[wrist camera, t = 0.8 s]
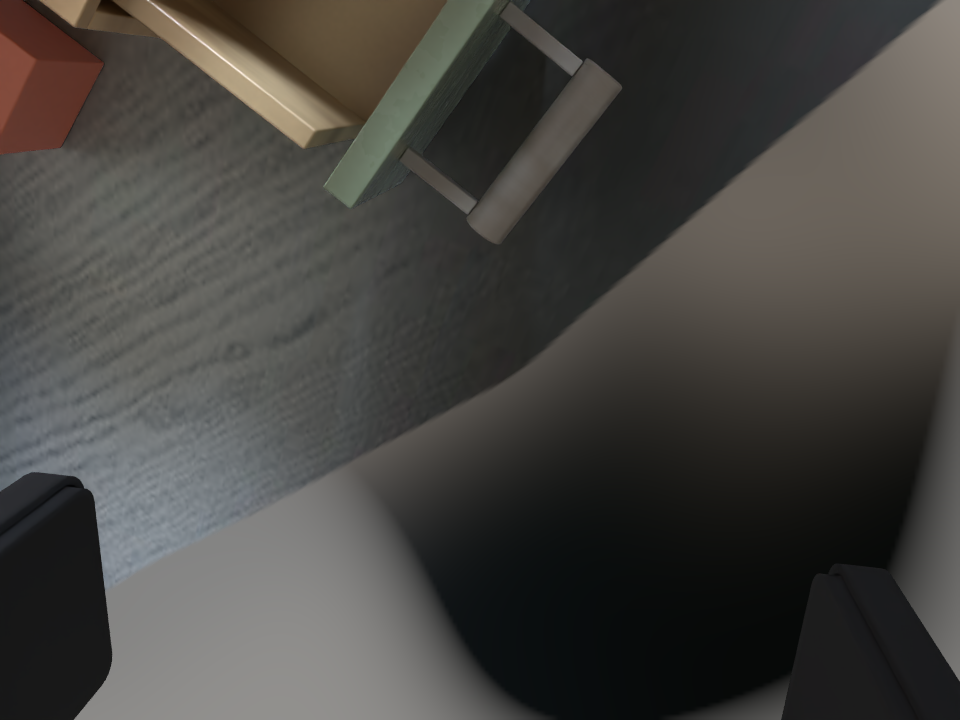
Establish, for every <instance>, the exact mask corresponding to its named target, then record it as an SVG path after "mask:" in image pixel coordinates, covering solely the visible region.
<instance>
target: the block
mask: <svg viewBox="0 0 960 720" xmlns="http://www.w3.org/2000/svg"><path fill="white" fill-rule="evenodd" d="M103 65H104V63H103V62H102V61H101V60H99V59H98V58H97V57H96V56H94V55H93V54H92V53H90V52H89V51H88V50H86V49H85V48H84V47H83V46H81V45H80V44H79V43H77V42H76V41H75V40H73V39H72V38H71V37H70V36H68V35H67V34H66V33H64V32H63V31H62V30H60V29H59V28H58V27H56V26H55V25H54V24H53V23H51V22H50V21H49V20H47V19H46V18H45V17H43V16H42V15H41V14H40V13H38V12H37V11H36V10H34V9H33V8H32V7H30V6H29V5H28V4H27V3H25V2H24V1H23V0H0V154H9V153H18V152H27V151H36V150H45V149H54V148H60V147H61V146H62V144H63V142H64V140H65V139H66V137H67V135H68V133H69V131H70V129H71V127H72V125H73V123H74V121H75V119H76V117H77V115H78V113H79V112H80V110H81V108H82V106H83V104H84V102H85V100H86V98H87V96H88V94H89V92H90V90H91V88H92V86H93V84H94V83H95V81H96V79H97V77H98V75H99V73H100V71H101V69H102V67H103Z"/></svg>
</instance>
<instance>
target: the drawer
mask: <svg viewBox="0 0 960 720" xmlns="http://www.w3.org/2000/svg"><path fill="white" fill-rule="evenodd" d="M112 1H113V2H115V3H116V4H117V5H119V6H120V7H121V8H122V9H124V10H125V11H126V12H128V13H129V14H130V15H131V16H133V17H134V18H135V19H137V20H138V21H139V22H140V23H142V24H143V25H144V26H146V27H147V28H148V29H149V30H151V31H152V32H153V33H155V34H156V35H157V36H158V37H160V38H161V39H162V40H164V41H165V42H166V43H167V44H169V45H170V46H171V47H173V48H174V49H175V50H176V51H178V52H179V53H180V54H182V55H183V56H184V57H185V58H187V59H188V60H189V61H191V62H192V63H193V64H194V65H196V66H197V67H198V68H200V69H201V70H202V71H203V72H205V73H206V74H207V75H209V76H210V77H211V78H212V79H214V80H215V81H216V82H218V83H219V84H220V85H221V86H223V87H224V88H225V89H227V90H228V91H229V92H230V93H232V94H233V95H234V96H236V97H237V98H238V99H239V100H241V101H242V102H243V103H245V104H246V105H247V106H248V107H250V108H251V109H252V110H254V111H255V112H256V113H257V114H259V115H260V116H261V117H263V118H264V119H265V120H266V121H268V122H269V123H270V124H272V125H273V126H274V127H275V128H277V129H278V130H279V131H281V132H282V133H283V134H284V135H286V136H287V137H288V138H290V139H291V140H292V141H293V142H295V143H296V144H297V145H299V146H300V147H301V148H302V149H308V148H313V147H318V146H322V145H327V144H332V143H337V142H341V141H346V140H351V139H355V140H354V141H353V143H352V144H351V146H350V147H349V149H348V150H347V152H346V153H345V155H344V156H343V158H342V159H341V161H340V162H339V164H338V165H337V167H336V168H335V170H334V171H333V173H332V174H331V176H330V177H329V179H328V180H327V182H326V183H325V185H324V187H323V188H324V189H325V190H326V191H328V192H329V193H330V194H331V195H333V196H334V197H335V198H337V199H338V200H339V201H340V202H342V203H343V204H344V205H346V206H347V207H348V208H349V209H352V208H354V207H356V206H358V205H360V204H362V203H364V202H366V201H368V200H370V199H372V198H374V197H376V196H378V195H380V194H382V193H384V192H386V191H388V190H390V189H391V188H393V187H395V186H397V185H399V184H401V183H402V182H403V180H404V179H405V177H406V176H407V175H408V173H409V172H410V170H411V171H413V172H414V173H415V174H416V175H418V176H419V177H420V178H421V179H423V180H424V181H425V182H426V183H428V184H429V185H430V186H432V187H433V188H434V189H435V190H437V191H438V192H439V193H440V194H442V195H443V196H444V197H446V198H447V199H448V200H449V201H451V202H452V203H453V204H454V205H456V206H457V207H458V208H459V209H461V210H462V211H463V212H465V213H466V214H469V215H468V216H467V222H468V223H469V225H470V226H471V227H472V228H473V229H474V230H475V231H476V232H477V233H478V234H479V235H481V236H482V237H483V238H485V239H486V240H488V241H490V242H491V243H494V244H497V245H499V244H501V243H502V242H503V240H504V239H505V238H506V236H507V235H508V234H509V233H510V231H511V230H512V229H513V228H514V226H515V225H516V224H517V222H518V221H519V220H520V219H521V217H522V216H523V215H524V214H525V212H526V211H527V210H528V208H529V207H530V206H531V205H532V203H533V202H534V201H535V199H536V198H537V197H538V196H539V194H540V193H541V192H542V191H543V189H544V188H545V187H546V185H547V184H548V183H549V182H550V180H551V179H552V178H553V177H554V175H555V174H556V173H557V171H558V170H559V169H560V168H561V166H562V165H563V164H564V162H565V161H566V160H567V159H568V157H569V156H570V155H571V154H572V152H573V151H574V150H575V148H576V147H577V146H578V145H579V143H580V142H581V141H582V140H583V138H584V137H585V136H586V134H587V133H588V132H589V131H590V129H591V128H592V127H593V125H594V124H595V123H596V122H597V120H598V119H599V118H600V117H601V115H602V114H603V113H604V111H605V110H606V109H607V108H608V106H609V105H610V104H611V103H612V101H613V100H614V99H615V97H616V96H617V95H618V94H619V92H620V91H621V90H622V86H621V84H620V83H618V82H617V81H616V80H615V79H614V78H613V77H612V76H610V75H609V74H608V73H607V72H606V71H604V70H603V69H602V68H601V67H600V66H598V65H597V64H596V63H594V62H593V61H592V60H590V59H588V58H587V59H586V60H585V61H584V62H583V61H582V60H581V59H579V58H578V57H577V56H576V55H575V54H573V53H572V52H571V51H570V50H569V49H567V48H566V47H565V46H564V45H563V44H561V43H560V42H559V41H558V40H556V39H555V38H554V37H553V36H552V35H550V34H549V33H548V32H547V31H546V30H544V29H543V28H542V27H541V26H540V25H538V24H537V23H536V22H535V21H534V20H532V19H531V18H530V17H529V16H528V15H526V14H525V13H524V12H523V10H524V9H525V8H526V6H527V5H528V3H529V2H530V1H531V0H112ZM511 27H512V28H514V29H515V30H516V31H517V32H518V33H520V34H521V35H522V36H523V37H524V38H526V39H527V40H528V41H529V42H531V43H532V44H533V45H534V46H535V47H537V48H538V49H539V50H540V51H541V52H543V53H544V54H545V55H546V56H547V57H549V58H550V59H551V60H552V61H554V62H555V63H556V64H557V65H558V66H560V67H561V68H562V69H563V70H564V71H566V72H567V73H568V74H569V75H571V76H573V77H572V78H571V80H570V81H569V82H568V84H567V85H566V86H565V88H564V89H563V90H562V92H561V93H560V94H559V96H558V97H557V98H556V100H555V101H554V102H553V103H552V105H551V106H550V107H549V109H548V110H547V111H546V113H545V114H544V115H543V117H542V118H541V119H540V121H539V122H538V123H537V125H536V126H535V127H534V129H533V130H532V131H531V133H530V134H529V135H528V137H527V138H526V139H525V141H524V142H523V143H522V145H521V146H520V147H519V149H518V150H517V151H516V153H515V154H514V155H513V156H512V158H511V159H510V160H509V162H508V163H507V164H506V166H505V167H504V168H503V170H502V171H501V172H500V174H499V175H498V176H497V178H496V179H495V180H494V182H493V183H492V184H491V186H490V187H489V188H488V190H487V191H486V192H485V194H484V195H483V196H482V198H481V199H480V200H479V202H478V199H477V198H475V197H474V196H473V195H472V194H470V193H469V192H468V191H467V190H465V189H464V188H463V187H462V186H460V185H459V184H458V183H456V182H455V181H454V180H453V179H451V178H450V177H449V176H448V175H446V174H445V173H444V172H443V171H441V170H440V169H439V168H438V167H436V166H435V165H434V164H432V163H431V162H430V161H429V160H427V159H426V158H425V157H424V156H422V153H423V152H424V151H425V149H426V148H427V146H428V145H429V144H430V142H431V141H432V139H433V138H434V136H435V135H436V134H437V132H438V131H439V129H440V128H441V127H442V125H443V124H444V122H445V121H446V119H447V118H448V117H449V115H450V114H451V112H452V111H453V110H454V108H455V107H456V105H457V104H458V102H459V101H460V100H461V98H462V97H463V95H464V94H465V93H466V91H467V90H468V88H469V87H470V85H471V84H472V83H473V81H474V80H475V78H476V77H477V76H478V74H479V73H480V71H481V70H482V69H483V67H484V66H485V64H486V63H487V61H488V60H489V59H490V57H491V56H492V54H493V53H494V52H495V50H496V49H497V47H498V46H499V44H500V43H501V42H502V40H503V39H504V37H505V36H506V35H507V33H508V32H509V30H510V29H511Z"/></svg>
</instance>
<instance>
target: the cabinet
mask: <svg viewBox="0 0 960 720" xmlns="http://www.w3.org/2000/svg"><path fill="white" fill-rule="evenodd" d="M39 1H40V2H42V3H43V4H44V5H46V6H47V7H48V8H49V9H51V10H52V11H53V12H55V13H56V14H57V15H59V16H60V17H61V18H62V19H64V20H65V21H66V22H68V23H69V24H70V25H72V26H73V27H75V28H82V29H89V30H97V31H105V32H114V33H122V34H130V35H138V36H146V37H154V38H160V37H158V36H157V35H156V34H155V33H153V32H152V31H151V30H149V29H148V28H147V27H146V26H144V25H143V24H142V23H140V22H139V21H138V20H137V19H135V18H134V17H133V16H131V15H130V14H129V13H128V12H126V11H125V10H124V9H122V8H121V7H120V6H119V5H117V4H116V3H115V2H113V1H112V0H39Z"/></svg>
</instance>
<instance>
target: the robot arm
mask: <svg viewBox="0 0 960 720" xmlns="http://www.w3.org/2000/svg"><path fill="white" fill-rule="evenodd" d="M111 662H112V648H111V640H110V630H109V623H108V614H107V606H106V596H105V588H104V579H103V571H102V562H101V554H100V545H99V536H98V528H97V519H96V511H95V502H94V498H93V495H92V493H91V491H89V490H88V489H84V486H83V484H82V482H81V481H80V480H79V479H78V478H76V477H74V476H65V475H56V474H47V473H39V472H31V473H29V474H27V475H25V476H23V477H22V478H20V479H19V480H17V481H16V482H14V483H13V484H11V485H10V486H8V487H7V488H5V489H4V490H2V491H1V492H0V720H74V719H75V717H76V716H77V715H78V714H79V713H80V711H81V710H82V709H83V708H84V706H85V705H86V704H87V702H88V701H89V700H90V699H91V698H92V697H93V695H94V694H95V693H96V692H97V690H98V689H99V688H100V687H101V686H102V684H103V683H104V681H105V680H106V678H107V676H108V673H109V670H110V667H111ZM781 720H960V681H959V680H958V678H957V677H956V675H955V674H954V672H953V671H952V669H951V667H950V666H949V664H948V663H947V662H946V660H945V658H944V657H943V655H942V654H941V652H940V650H939V649H938V647H937V646H936V644H935V643H934V641H933V639H932V638H931V636H930V635H929V633H928V632H927V630H926V629H925V627H924V625H923V624H922V622H921V621H920V619H919V618H918V616H917V615H916V613H915V612H914V610H913V608H912V607H911V605H910V604H909V602H908V601H907V599H906V597H905V596H904V594H903V593H902V591H901V590H900V588H899V586H898V585H897V584H896V582H895V580H894V579H893V577H892V576H891V574H890V573H889V572H888V571H887V570H885V569H880V568H871V567H862V566H854V565H845V564H835V565H833V566H832V568H831V569H830V571H829V573H828V575H827V574H817V575H816V576H815V578H814V580H813V582H812V586H811V590H810V594H809V599H808V603H807V608H806V613H805V617H804V621H803V626H802V630H801V635H800V639H799V644H798V648H797V652H796V657H795V661H794V666H793V670H792V674H791V679H790V683H789V688H788V692H787V697H786V701H785V706H784V710H783V714H782V719H781Z"/></svg>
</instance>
